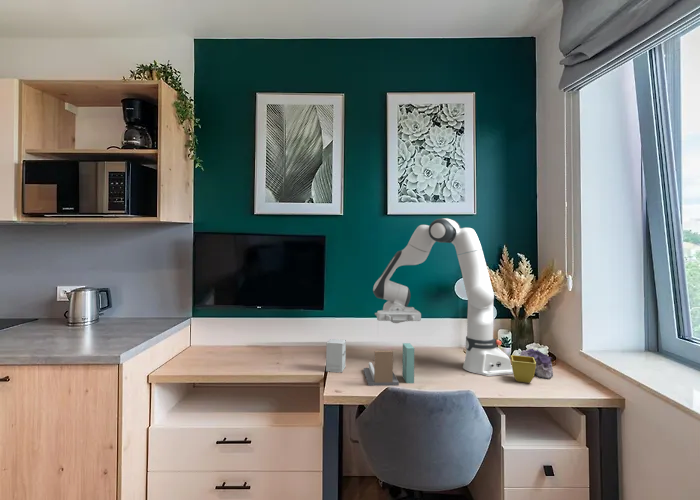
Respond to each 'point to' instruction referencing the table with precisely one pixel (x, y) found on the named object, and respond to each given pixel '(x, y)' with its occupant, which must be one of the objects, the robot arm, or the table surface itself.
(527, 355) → the geode
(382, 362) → the track base
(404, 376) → the teal rectangular block
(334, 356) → the supplement box
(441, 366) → the table surface
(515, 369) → the flower pot
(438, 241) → the robot arm
